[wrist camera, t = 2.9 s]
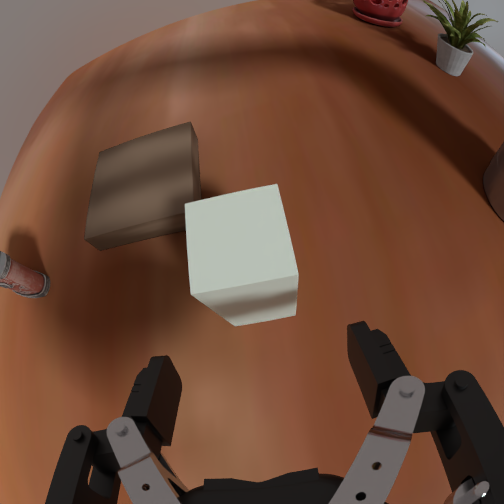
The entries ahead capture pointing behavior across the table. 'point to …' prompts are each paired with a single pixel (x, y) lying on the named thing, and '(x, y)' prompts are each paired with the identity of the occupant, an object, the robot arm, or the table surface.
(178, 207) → the walnut base
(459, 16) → the house plant
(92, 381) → the table surface
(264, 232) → the sage pillar
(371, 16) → the plant pot
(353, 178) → the table surface
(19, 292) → the lighter
